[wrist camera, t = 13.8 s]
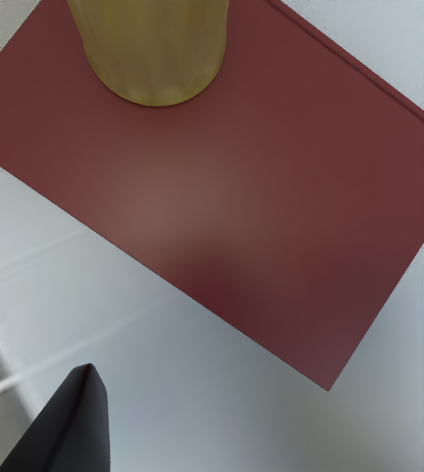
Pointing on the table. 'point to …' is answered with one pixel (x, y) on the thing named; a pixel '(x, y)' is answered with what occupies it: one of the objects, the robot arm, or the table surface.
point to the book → (234, 175)
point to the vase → (153, 46)
